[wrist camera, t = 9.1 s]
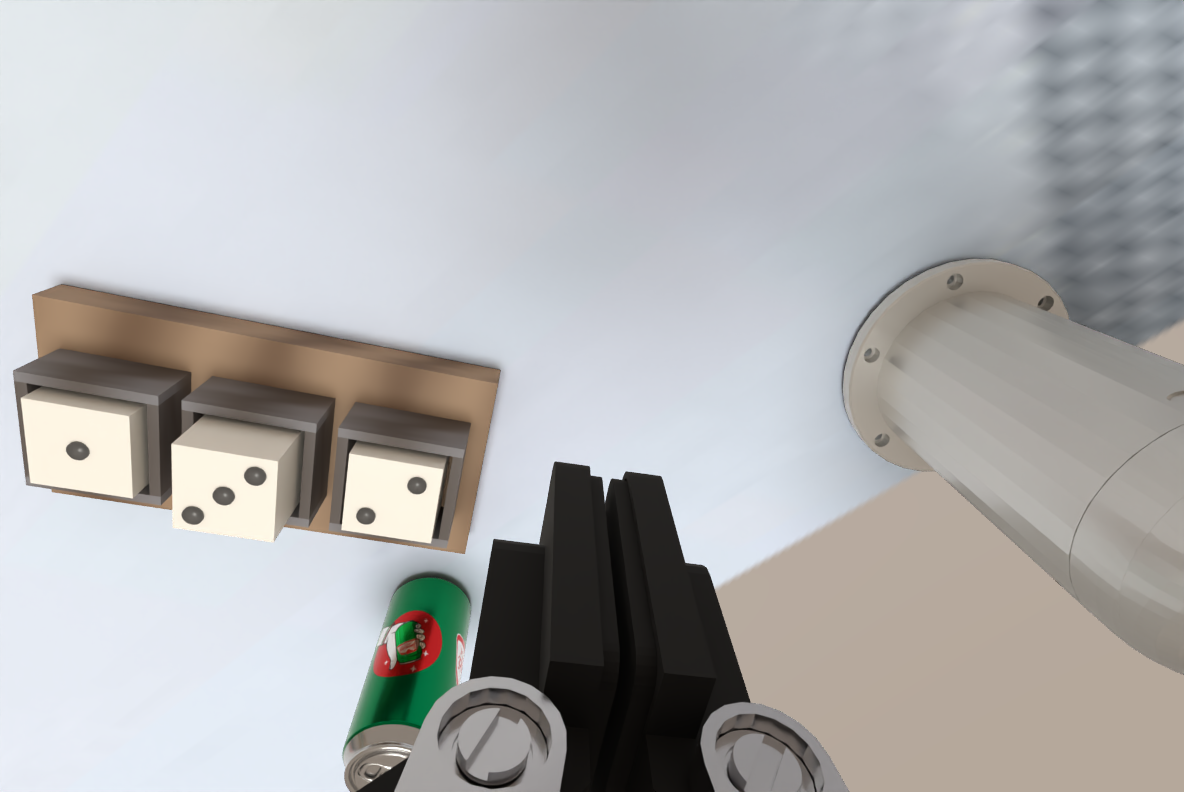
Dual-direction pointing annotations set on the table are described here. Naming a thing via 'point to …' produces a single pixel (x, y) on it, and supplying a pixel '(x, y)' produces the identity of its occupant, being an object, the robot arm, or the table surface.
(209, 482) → the three dot button
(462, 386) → the button panel
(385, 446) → the two dot button
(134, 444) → the one dot button
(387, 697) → the soda can
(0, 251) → the table surface
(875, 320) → the robot arm
